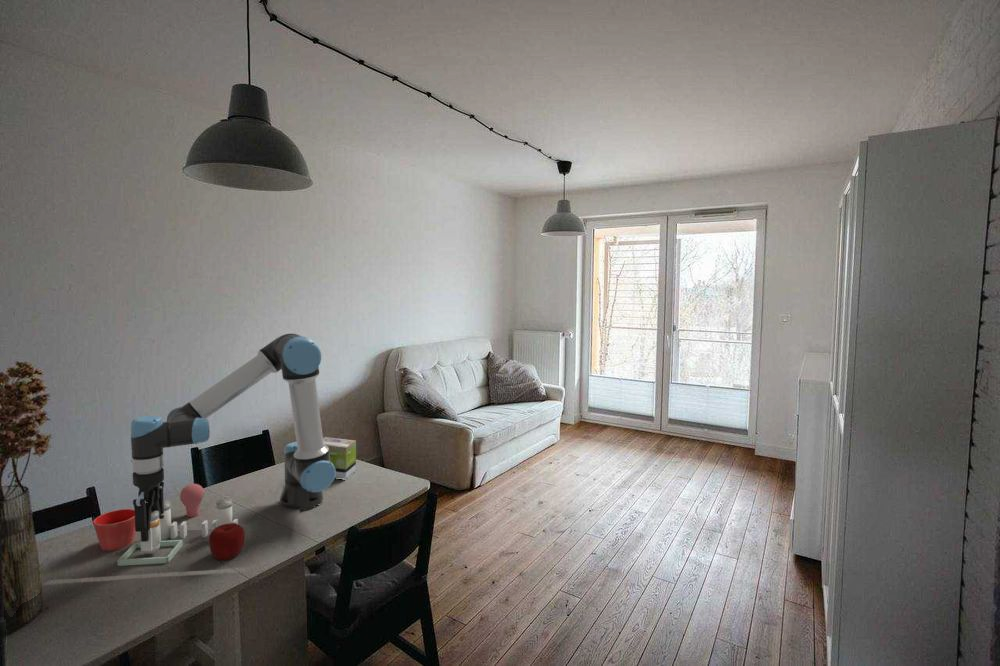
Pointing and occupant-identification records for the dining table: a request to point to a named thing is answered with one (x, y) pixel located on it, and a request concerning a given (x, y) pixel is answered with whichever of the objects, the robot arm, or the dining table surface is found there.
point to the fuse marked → (154, 531)
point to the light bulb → (192, 498)
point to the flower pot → (115, 529)
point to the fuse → (166, 522)
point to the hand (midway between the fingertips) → (151, 545)
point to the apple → (226, 541)
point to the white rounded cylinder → (224, 512)
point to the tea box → (342, 455)
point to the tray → (155, 560)
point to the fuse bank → (193, 532)
